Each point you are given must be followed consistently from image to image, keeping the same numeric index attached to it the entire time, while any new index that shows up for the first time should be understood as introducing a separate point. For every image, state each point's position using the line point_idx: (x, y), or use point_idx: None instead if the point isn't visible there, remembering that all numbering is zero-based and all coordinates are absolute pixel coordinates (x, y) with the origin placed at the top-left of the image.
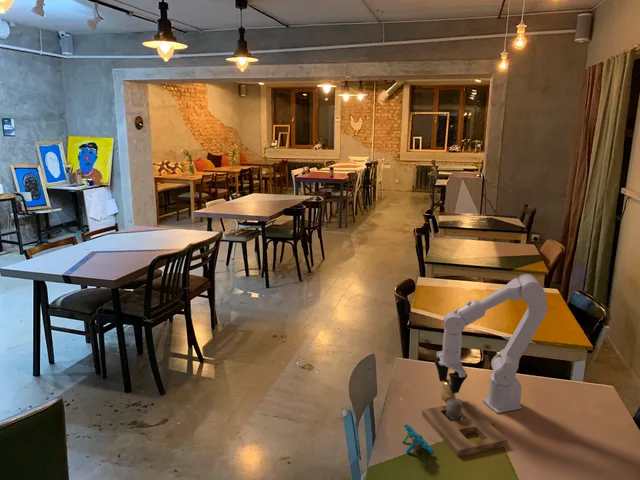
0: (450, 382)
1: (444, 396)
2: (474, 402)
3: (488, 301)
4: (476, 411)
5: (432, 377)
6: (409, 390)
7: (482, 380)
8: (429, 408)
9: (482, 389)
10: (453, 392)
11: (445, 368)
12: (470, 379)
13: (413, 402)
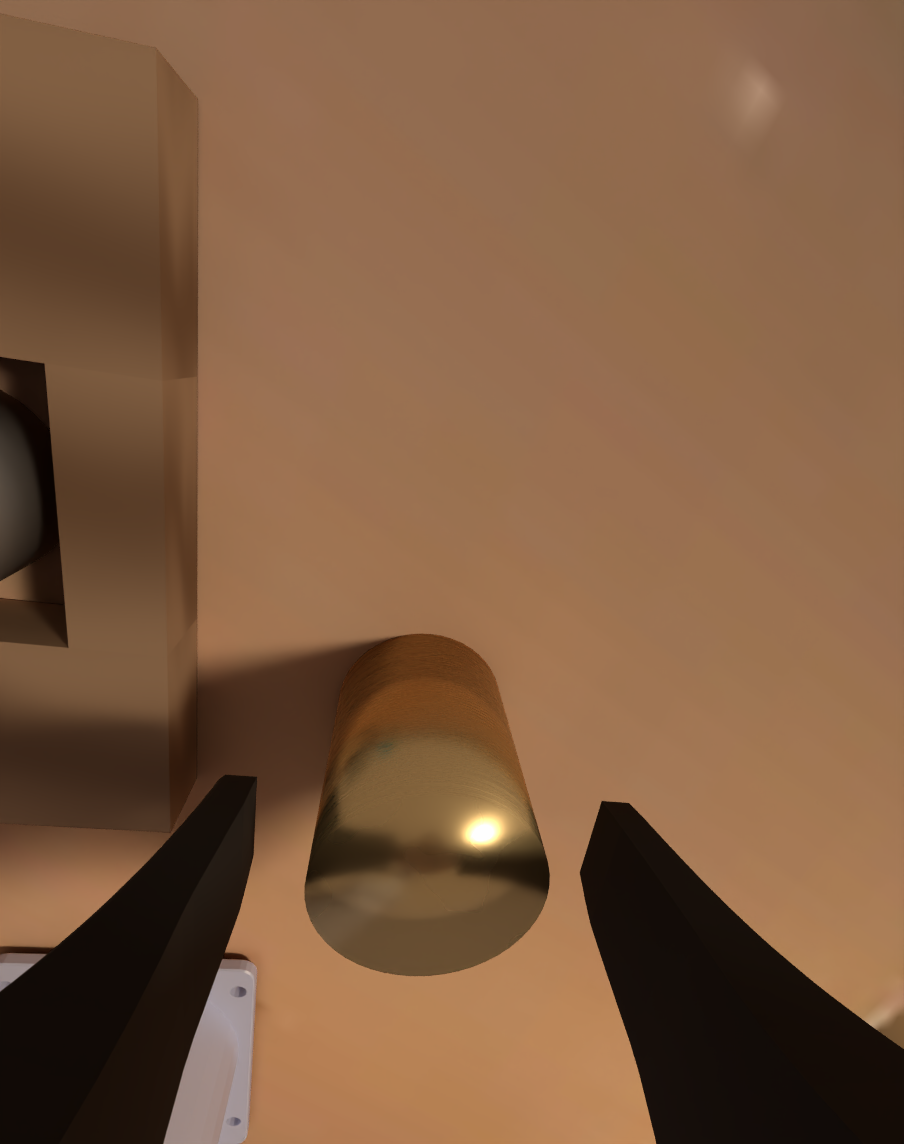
0: (423, 905)
1: (397, 670)
2: (251, 885)
3: None
4: None
5: (839, 795)
6: (821, 381)
7: (531, 1101)
8: (158, 225)
9: (415, 1041)
10: (212, 791)
11: (685, 1114)
12: (596, 1042)
13: (559, 224)
